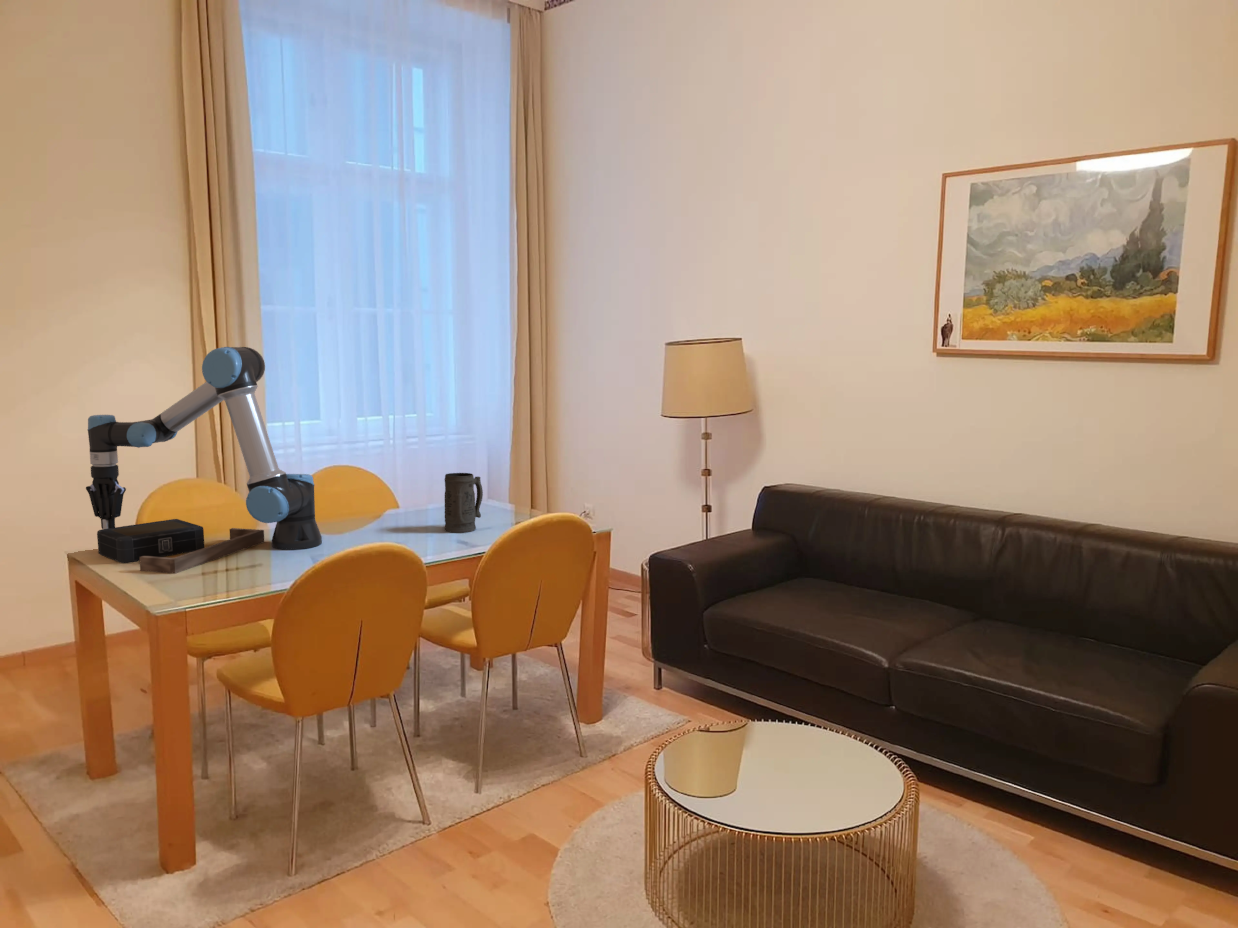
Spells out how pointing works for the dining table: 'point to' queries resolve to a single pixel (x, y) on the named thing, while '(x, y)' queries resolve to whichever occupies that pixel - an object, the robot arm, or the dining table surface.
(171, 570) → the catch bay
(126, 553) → the cash box
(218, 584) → the dining table surface
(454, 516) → the beer stein
